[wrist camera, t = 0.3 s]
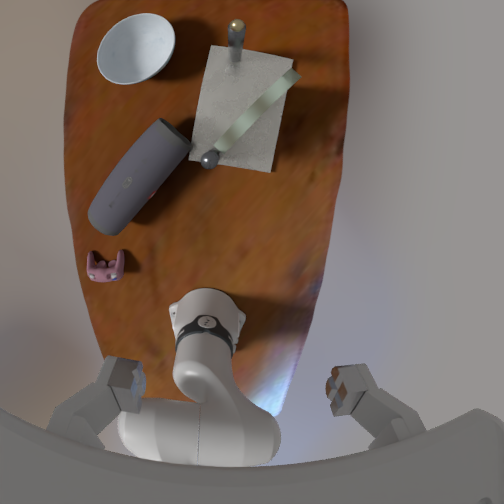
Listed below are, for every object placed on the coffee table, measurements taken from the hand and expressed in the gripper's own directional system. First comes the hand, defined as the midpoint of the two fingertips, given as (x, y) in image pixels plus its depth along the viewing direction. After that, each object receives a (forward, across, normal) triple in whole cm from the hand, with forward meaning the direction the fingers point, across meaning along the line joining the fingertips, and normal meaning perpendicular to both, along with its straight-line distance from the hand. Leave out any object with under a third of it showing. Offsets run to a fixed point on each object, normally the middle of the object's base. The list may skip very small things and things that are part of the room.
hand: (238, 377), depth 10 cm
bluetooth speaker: (+47, -18, 0) cm, 51 cm away
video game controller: (+47, -28, -20) cm, 58 cm away
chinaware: (+47, -20, +26) cm, 57 cm away
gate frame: (+47, 0, +15) cm, 49 cm away
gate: (+45, +2, +13) cm, 47 cm away
